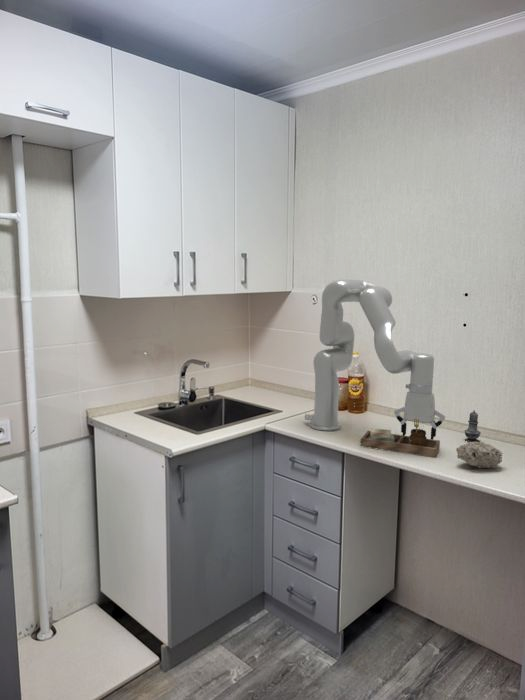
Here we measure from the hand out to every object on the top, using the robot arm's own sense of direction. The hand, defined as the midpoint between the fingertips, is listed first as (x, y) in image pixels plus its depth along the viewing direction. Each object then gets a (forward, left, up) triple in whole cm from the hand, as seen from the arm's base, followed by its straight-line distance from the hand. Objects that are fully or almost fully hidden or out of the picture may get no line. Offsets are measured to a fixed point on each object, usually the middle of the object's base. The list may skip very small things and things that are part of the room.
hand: (418, 436), depth 191 cm
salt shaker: (+17, +21, -5) cm, 27 cm away
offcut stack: (-13, 0, -5) cm, 14 cm away
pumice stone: (+20, -8, -5) cm, 22 cm away
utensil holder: (0, 0, -5) cm, 5 cm away
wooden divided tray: (-6, 0, -5) cm, 8 cm away
